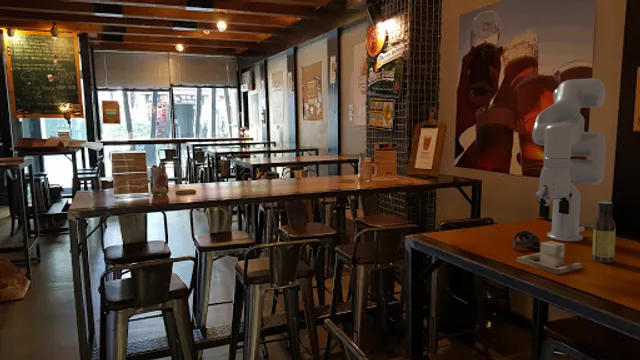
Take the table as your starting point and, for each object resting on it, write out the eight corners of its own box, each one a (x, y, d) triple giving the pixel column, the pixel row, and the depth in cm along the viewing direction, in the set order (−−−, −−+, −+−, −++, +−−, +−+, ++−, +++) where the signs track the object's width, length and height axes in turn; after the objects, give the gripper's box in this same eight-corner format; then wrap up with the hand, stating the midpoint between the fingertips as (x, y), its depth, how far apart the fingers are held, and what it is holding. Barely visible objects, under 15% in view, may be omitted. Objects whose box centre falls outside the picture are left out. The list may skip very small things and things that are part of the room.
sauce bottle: (618, 262, 146) (623, 203, 143) (602, 264, 144) (607, 204, 142) (602, 257, 152) (606, 200, 149) (586, 258, 150) (590, 201, 148)
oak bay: (541, 256, 154) (541, 252, 154) (582, 268, 141) (582, 263, 141) (516, 261, 148) (517, 257, 148) (556, 274, 135) (556, 269, 135)
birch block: (549, 261, 149) (550, 240, 148) (563, 265, 144) (564, 244, 143) (539, 263, 146) (540, 242, 145) (553, 267, 142) (554, 246, 141)
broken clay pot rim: (548, 254, 158) (540, 236, 155) (522, 264, 160) (514, 247, 157) (534, 237, 169) (527, 220, 166) (510, 247, 171) (503, 230, 168)
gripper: (563, 160, 148) (560, 210, 151) (528, 164, 140) (525, 216, 143) (585, 162, 142) (581, 214, 144) (549, 166, 134) (547, 221, 136)
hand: (554, 215), depth 144 cm, fingers open, 9 cm apart
